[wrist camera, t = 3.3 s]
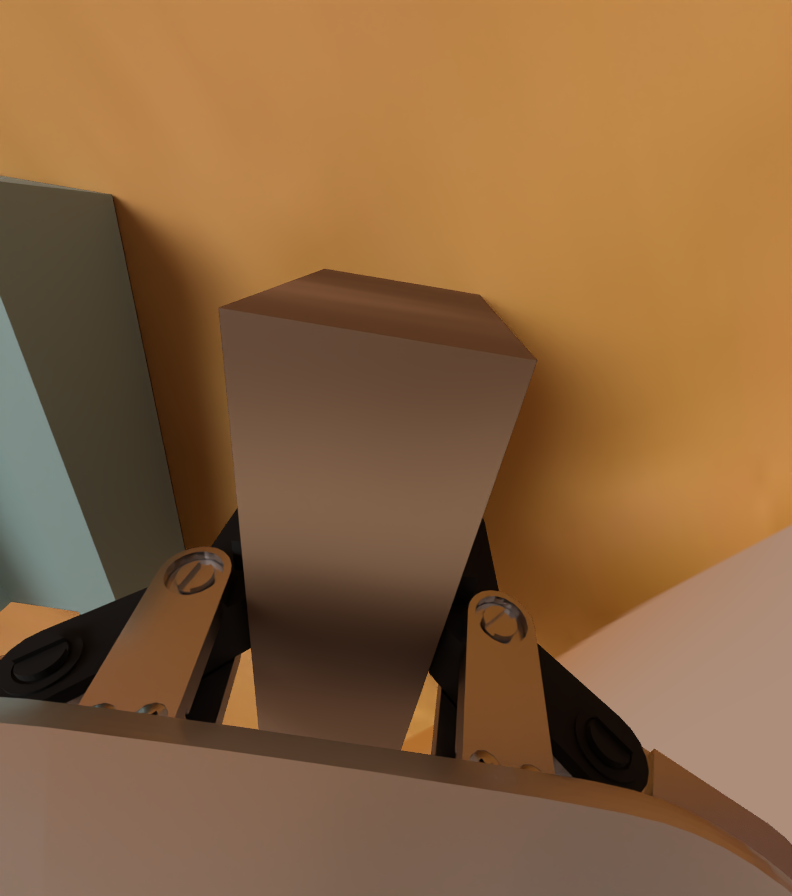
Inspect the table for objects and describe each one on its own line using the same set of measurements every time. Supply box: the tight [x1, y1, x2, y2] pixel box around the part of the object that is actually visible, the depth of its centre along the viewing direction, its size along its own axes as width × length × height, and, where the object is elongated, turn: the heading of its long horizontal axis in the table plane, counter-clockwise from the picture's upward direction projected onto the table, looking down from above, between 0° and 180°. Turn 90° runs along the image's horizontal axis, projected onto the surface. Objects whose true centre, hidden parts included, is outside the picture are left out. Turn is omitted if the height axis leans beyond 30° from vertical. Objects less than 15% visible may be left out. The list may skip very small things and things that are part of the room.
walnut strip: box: [219, 269, 537, 750], centre depth 9 cm, size 12×4×5 cm, turn 171°
